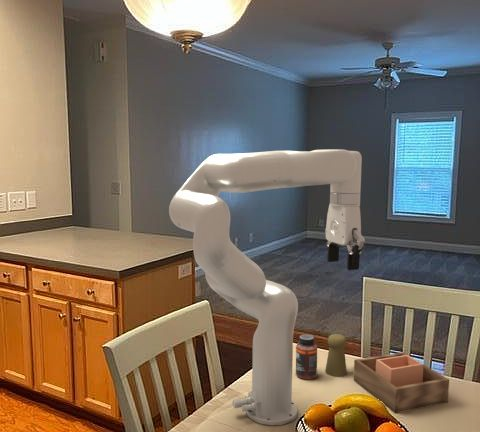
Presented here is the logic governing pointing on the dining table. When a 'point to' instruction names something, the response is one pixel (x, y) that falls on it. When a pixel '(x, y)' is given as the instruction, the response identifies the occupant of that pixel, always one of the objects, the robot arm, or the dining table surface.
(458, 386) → the dining table surface
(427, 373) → the big crate
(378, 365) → the small crate
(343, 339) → the olive green pawn
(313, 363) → the supplement bottle
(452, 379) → the dining table surface
